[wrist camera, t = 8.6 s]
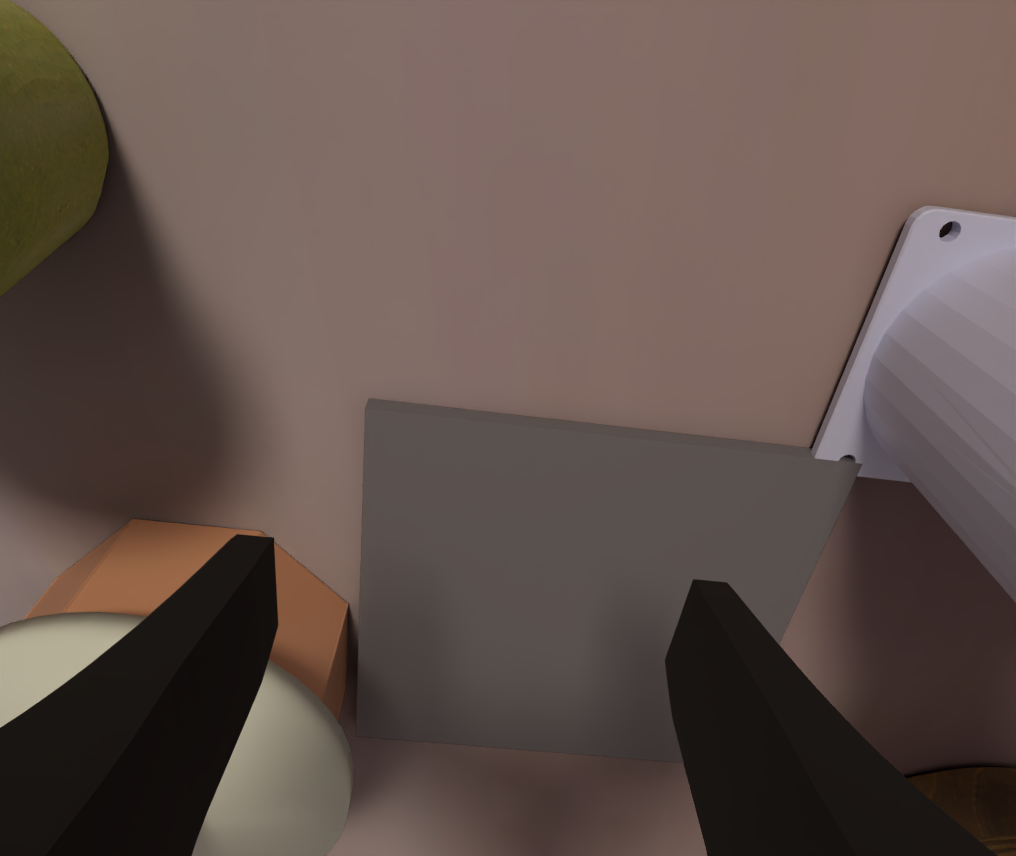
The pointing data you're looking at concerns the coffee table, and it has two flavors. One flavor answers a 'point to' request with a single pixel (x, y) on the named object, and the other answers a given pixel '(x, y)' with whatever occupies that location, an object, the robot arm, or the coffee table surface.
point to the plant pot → (43, 145)
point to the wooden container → (977, 802)
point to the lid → (255, 759)
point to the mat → (562, 570)
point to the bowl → (180, 554)
